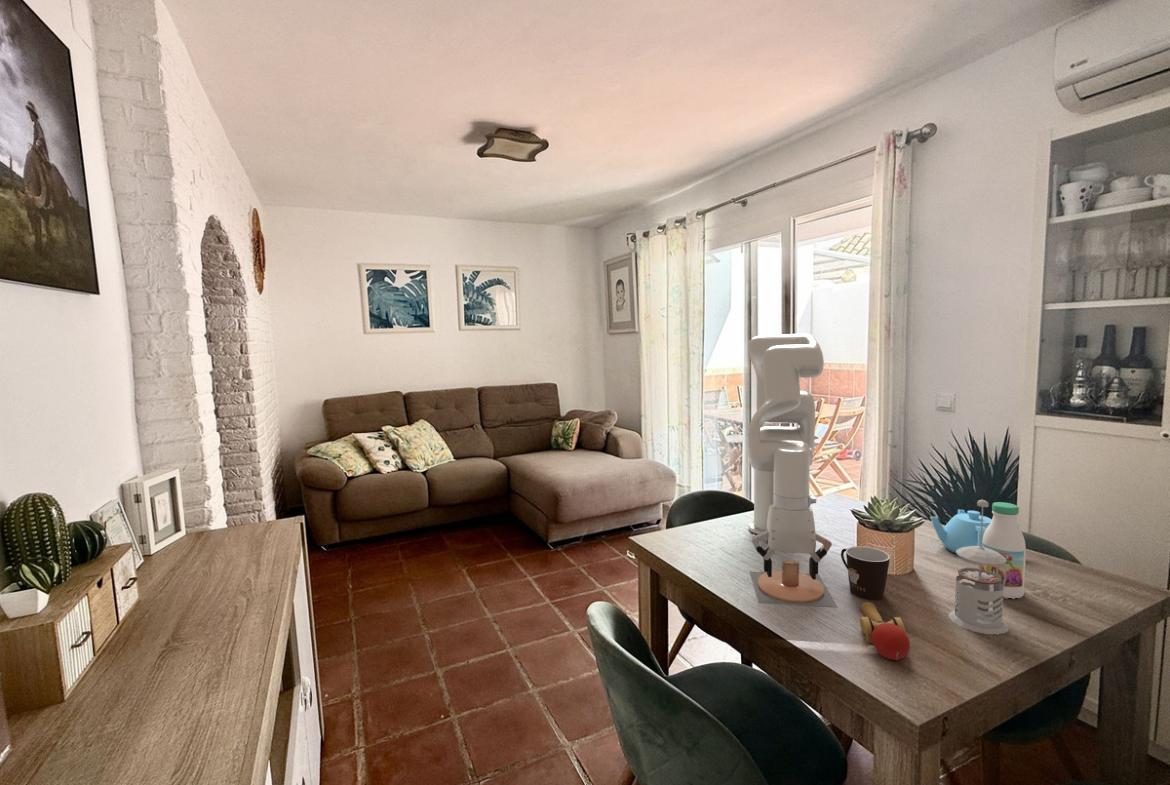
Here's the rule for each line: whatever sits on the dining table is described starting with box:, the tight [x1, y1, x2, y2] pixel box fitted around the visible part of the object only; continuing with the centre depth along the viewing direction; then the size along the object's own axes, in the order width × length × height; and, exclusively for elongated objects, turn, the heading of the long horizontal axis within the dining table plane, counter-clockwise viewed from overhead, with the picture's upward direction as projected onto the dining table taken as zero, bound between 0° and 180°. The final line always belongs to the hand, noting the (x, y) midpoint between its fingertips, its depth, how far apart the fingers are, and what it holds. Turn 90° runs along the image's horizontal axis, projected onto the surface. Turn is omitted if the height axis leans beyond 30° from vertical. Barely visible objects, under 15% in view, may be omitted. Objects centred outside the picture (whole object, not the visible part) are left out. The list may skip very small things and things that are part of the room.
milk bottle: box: [981, 501, 1027, 600], centre depth 119 cm, size 8×8×20 cm
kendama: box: [859, 601, 911, 661], centre depth 102 cm, size 8×6×18 cm
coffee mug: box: [840, 545, 891, 601], centre depth 120 cm, size 12×9×10 cm
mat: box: [749, 570, 839, 608], centre depth 122 cm, size 16×16×1 cm
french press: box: [948, 499, 1009, 635], centre depth 107 cm, size 10×12×25 cm
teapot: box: [929, 509, 1020, 555], centre depth 143 cm, size 15×15×11 cm
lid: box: [758, 558, 824, 603], centre depth 122 cm, size 14×14×6 cm
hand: (790, 575), depth 122 cm, fingers open, 9 cm apart
